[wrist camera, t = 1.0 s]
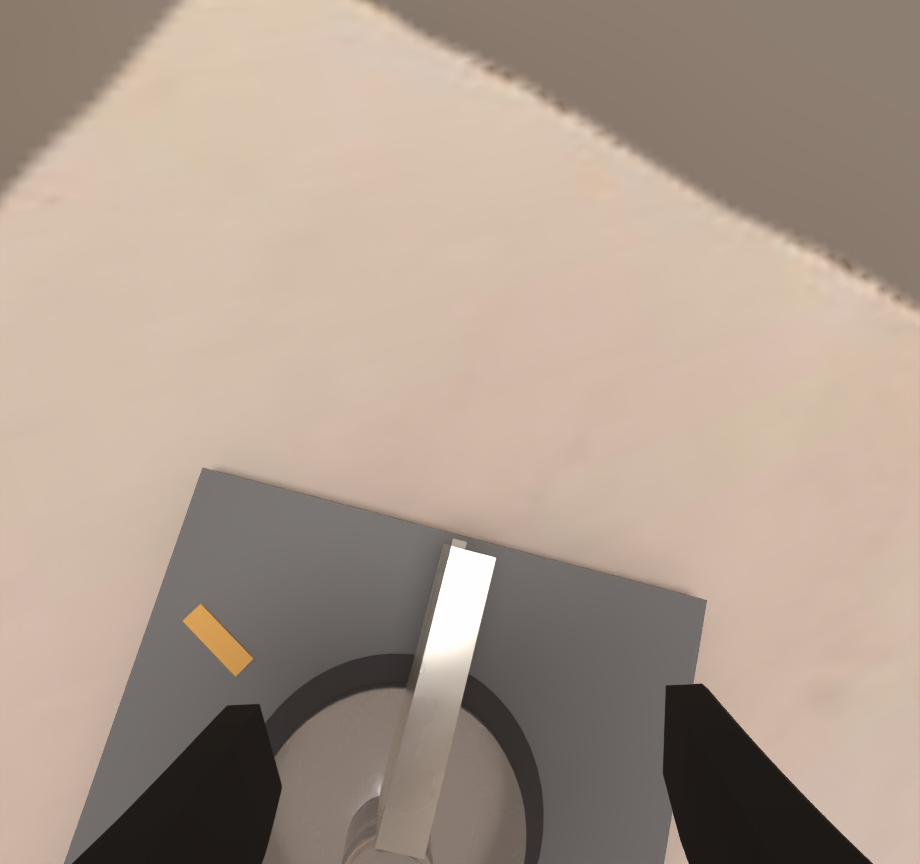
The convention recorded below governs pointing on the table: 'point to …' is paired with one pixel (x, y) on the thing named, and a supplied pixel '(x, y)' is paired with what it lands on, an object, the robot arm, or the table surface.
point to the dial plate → (407, 660)
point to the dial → (405, 756)
